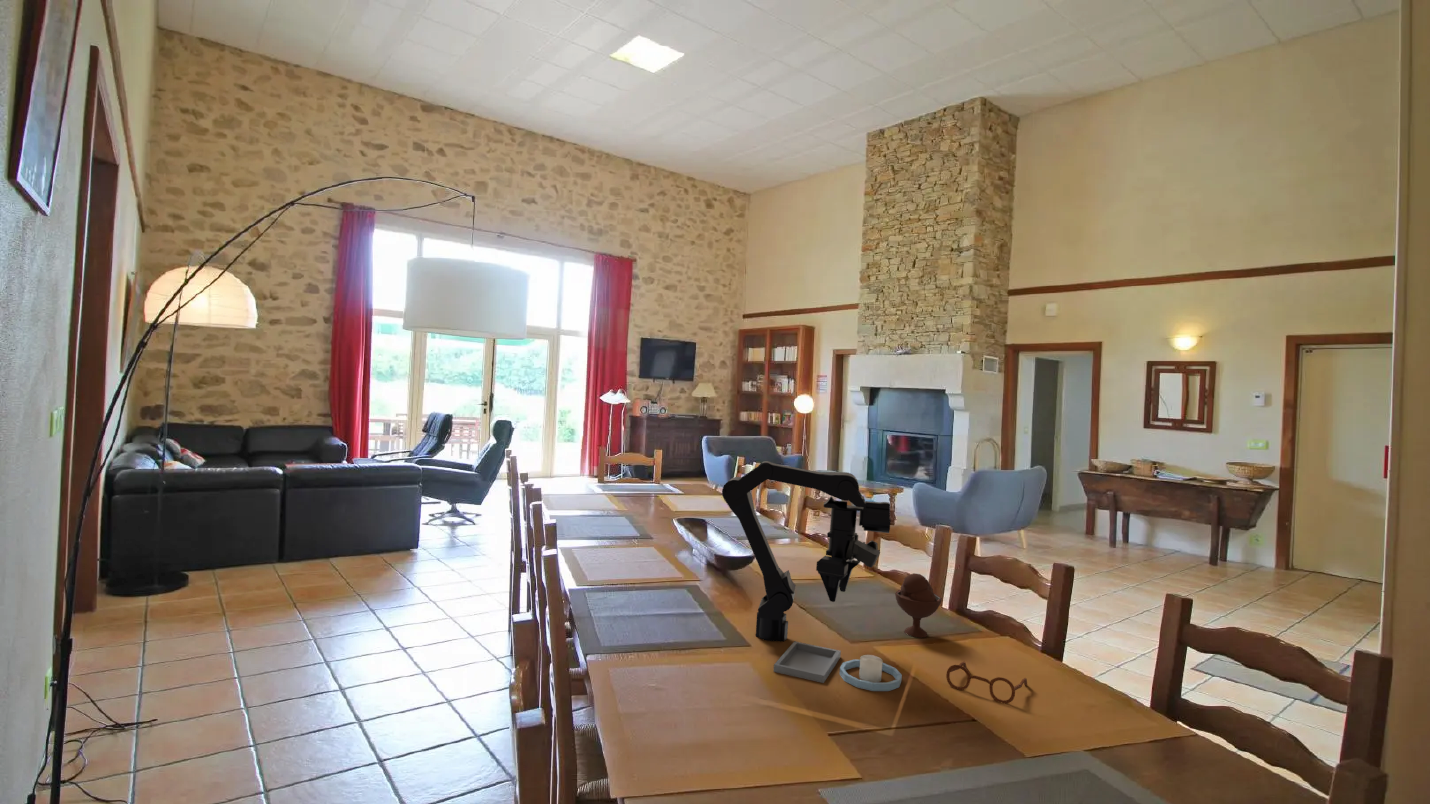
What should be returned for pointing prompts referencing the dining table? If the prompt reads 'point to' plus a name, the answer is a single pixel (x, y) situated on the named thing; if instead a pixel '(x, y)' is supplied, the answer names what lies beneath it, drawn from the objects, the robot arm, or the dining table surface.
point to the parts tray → (807, 661)
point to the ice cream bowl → (917, 601)
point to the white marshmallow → (870, 668)
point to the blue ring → (870, 685)
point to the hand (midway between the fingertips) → (837, 596)
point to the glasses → (969, 677)
